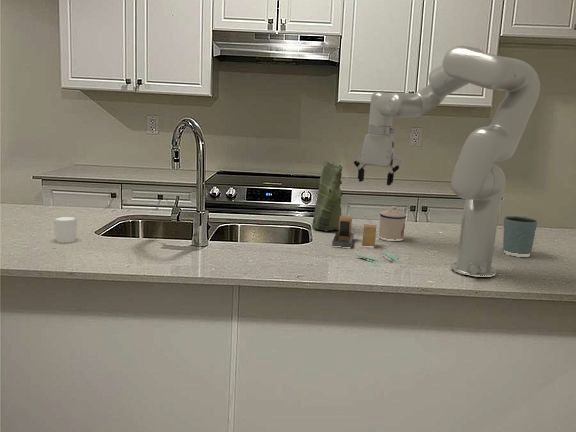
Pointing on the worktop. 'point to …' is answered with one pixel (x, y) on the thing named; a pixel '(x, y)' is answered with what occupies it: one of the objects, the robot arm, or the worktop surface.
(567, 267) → the worktop surface
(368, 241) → the tan wooden block
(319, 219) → the pouch
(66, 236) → the white cylinder
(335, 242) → the rail
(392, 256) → the cloth
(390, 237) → the teacup with lid
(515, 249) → the teal plant pot
